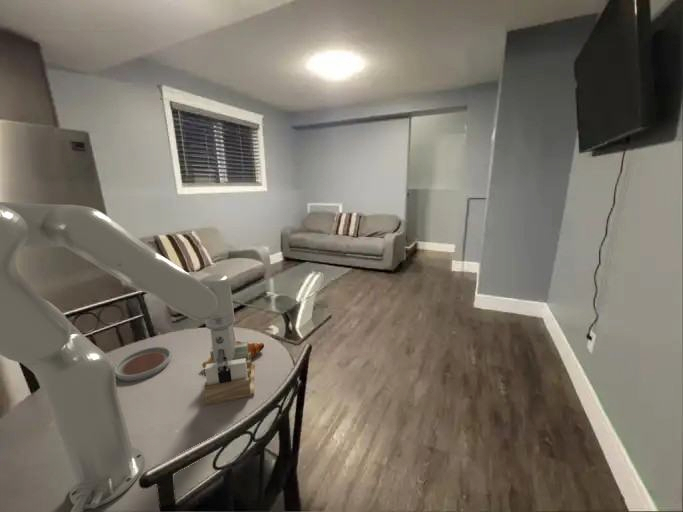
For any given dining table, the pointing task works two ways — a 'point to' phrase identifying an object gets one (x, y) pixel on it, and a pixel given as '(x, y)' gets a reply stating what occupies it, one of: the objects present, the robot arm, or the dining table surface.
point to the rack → (235, 387)
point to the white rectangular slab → (236, 368)
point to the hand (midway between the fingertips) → (227, 371)
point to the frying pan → (143, 363)
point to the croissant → (252, 348)
